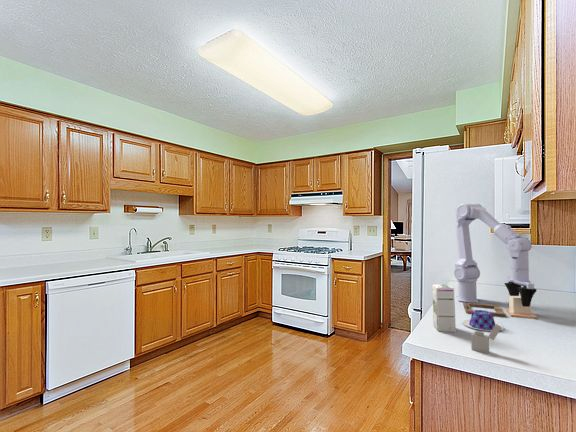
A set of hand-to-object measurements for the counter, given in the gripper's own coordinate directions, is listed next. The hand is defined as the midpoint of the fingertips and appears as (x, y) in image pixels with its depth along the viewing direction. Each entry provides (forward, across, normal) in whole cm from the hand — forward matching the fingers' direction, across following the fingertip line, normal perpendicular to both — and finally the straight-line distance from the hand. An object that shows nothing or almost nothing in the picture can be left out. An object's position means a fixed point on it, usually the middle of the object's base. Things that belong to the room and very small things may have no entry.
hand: (520, 303), depth 122 cm
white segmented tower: (+4, +21, -35) cm, 41 cm away
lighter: (+4, +40, -29) cm, 49 cm away
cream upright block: (+3, 0, 0) cm, 3 cm away
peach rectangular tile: (+4, 0, 0) cm, 4 cm away
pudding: (+4, +17, -21) cm, 27 cm away
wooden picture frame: (+4, -3, -12) cm, 13 cm away
